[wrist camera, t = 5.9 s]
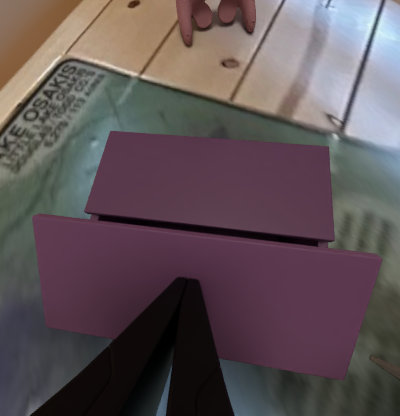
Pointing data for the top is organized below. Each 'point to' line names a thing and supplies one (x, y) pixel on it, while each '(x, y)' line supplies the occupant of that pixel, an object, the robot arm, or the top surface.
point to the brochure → (387, 366)
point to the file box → (216, 187)
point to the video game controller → (197, 9)
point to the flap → (210, 289)
